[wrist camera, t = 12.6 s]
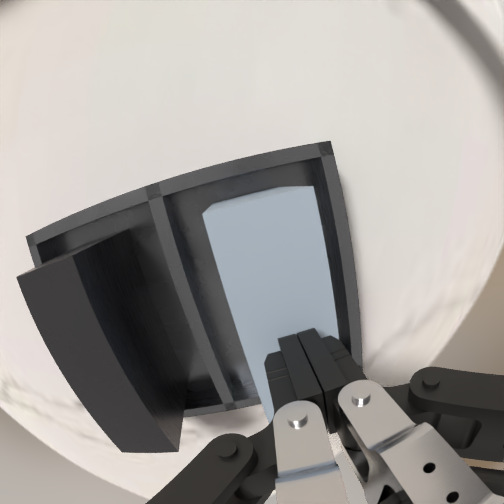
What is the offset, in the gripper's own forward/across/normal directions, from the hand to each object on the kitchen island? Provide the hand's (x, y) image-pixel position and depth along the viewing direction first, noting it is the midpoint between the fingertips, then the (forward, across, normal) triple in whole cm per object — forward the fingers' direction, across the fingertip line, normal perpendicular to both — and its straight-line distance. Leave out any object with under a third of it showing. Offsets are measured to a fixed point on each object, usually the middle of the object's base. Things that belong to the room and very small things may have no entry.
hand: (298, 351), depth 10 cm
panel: (+8, 0, 0) cm, 8 cm away
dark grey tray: (+8, +5, 0) cm, 9 cm away
